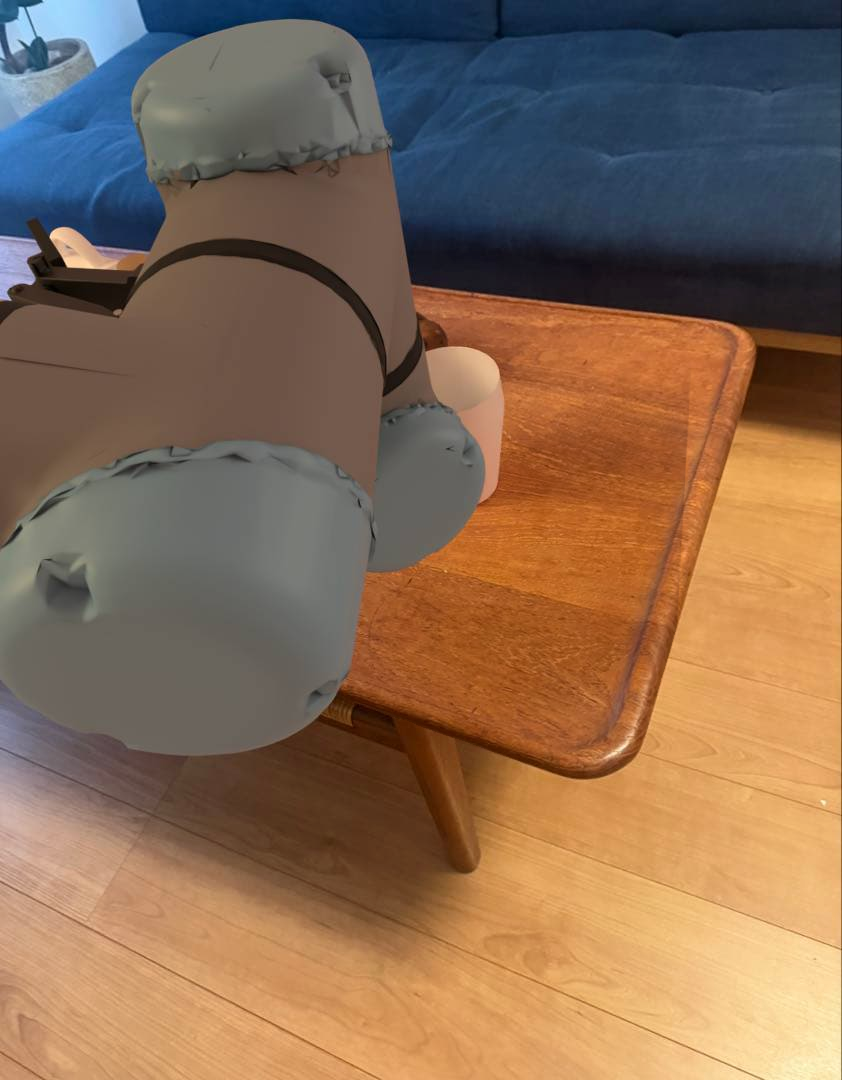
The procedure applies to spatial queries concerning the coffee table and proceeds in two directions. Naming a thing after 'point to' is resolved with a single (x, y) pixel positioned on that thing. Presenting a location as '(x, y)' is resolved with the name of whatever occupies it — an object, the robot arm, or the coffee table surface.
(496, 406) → the cup
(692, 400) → the coffee table surface
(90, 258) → the mug
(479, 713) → the coffee table surface
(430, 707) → the coffee table surface
